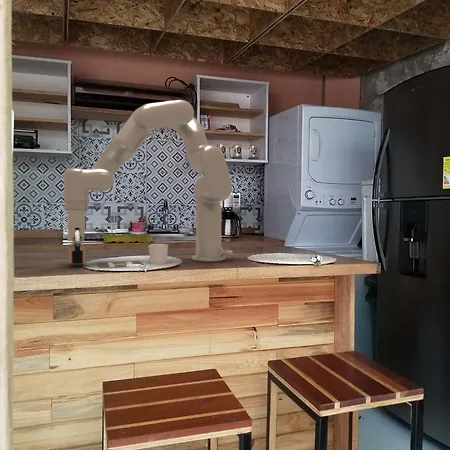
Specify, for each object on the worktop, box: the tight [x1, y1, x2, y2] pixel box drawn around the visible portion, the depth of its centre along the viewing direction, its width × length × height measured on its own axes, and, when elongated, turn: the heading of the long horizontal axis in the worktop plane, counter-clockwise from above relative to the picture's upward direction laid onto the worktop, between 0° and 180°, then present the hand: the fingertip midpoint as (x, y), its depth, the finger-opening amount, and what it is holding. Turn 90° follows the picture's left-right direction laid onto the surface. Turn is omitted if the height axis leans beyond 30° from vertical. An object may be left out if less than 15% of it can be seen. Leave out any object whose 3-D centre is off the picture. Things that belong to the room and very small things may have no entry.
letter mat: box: [96, 260, 145, 269], centre depth 153 cm, size 15×14×1 cm
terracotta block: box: [68, 245, 86, 264], centre depth 148 cm, size 5×5×5 cm
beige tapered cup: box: [148, 243, 169, 265], centre depth 157 cm, size 7×7×7 cm
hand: (77, 261), depth 148 cm, fingers closed on terracotta block, 5 cm apart
